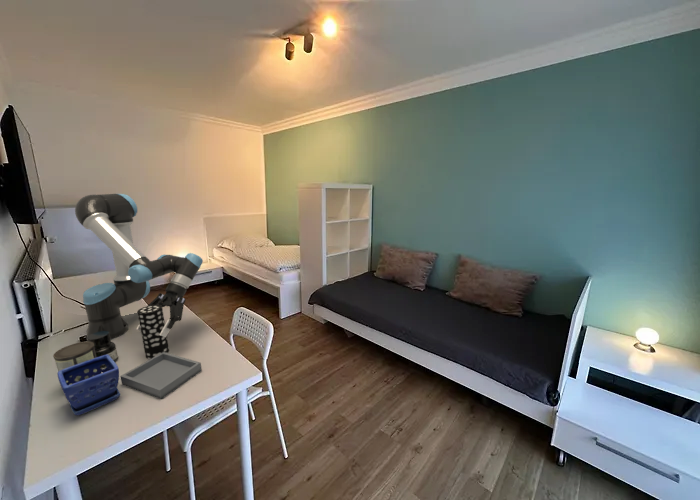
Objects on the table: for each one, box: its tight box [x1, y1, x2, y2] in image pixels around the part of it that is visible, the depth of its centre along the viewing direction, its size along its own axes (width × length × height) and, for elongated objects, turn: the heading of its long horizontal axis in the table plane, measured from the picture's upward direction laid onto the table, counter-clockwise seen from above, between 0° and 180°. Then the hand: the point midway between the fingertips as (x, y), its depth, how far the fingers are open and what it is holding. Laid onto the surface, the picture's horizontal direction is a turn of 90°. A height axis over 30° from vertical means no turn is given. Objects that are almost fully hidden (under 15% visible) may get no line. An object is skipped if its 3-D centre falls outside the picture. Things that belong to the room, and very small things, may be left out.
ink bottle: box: [86, 331, 119, 369], centre depth 114 cm, size 10×9×12 cm
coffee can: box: [52, 340, 97, 385], centre depth 101 cm, size 10×10×14 cm
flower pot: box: [56, 355, 121, 416], centre depth 93 cm, size 13×13×12 cm
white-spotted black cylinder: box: [136, 305, 170, 360], centre depth 119 cm, size 8×8×20 cm
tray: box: [119, 352, 203, 400], centre depth 106 cm, size 20×16×4 cm
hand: (150, 333), depth 117 cm, fingers open, 13 cm apart
